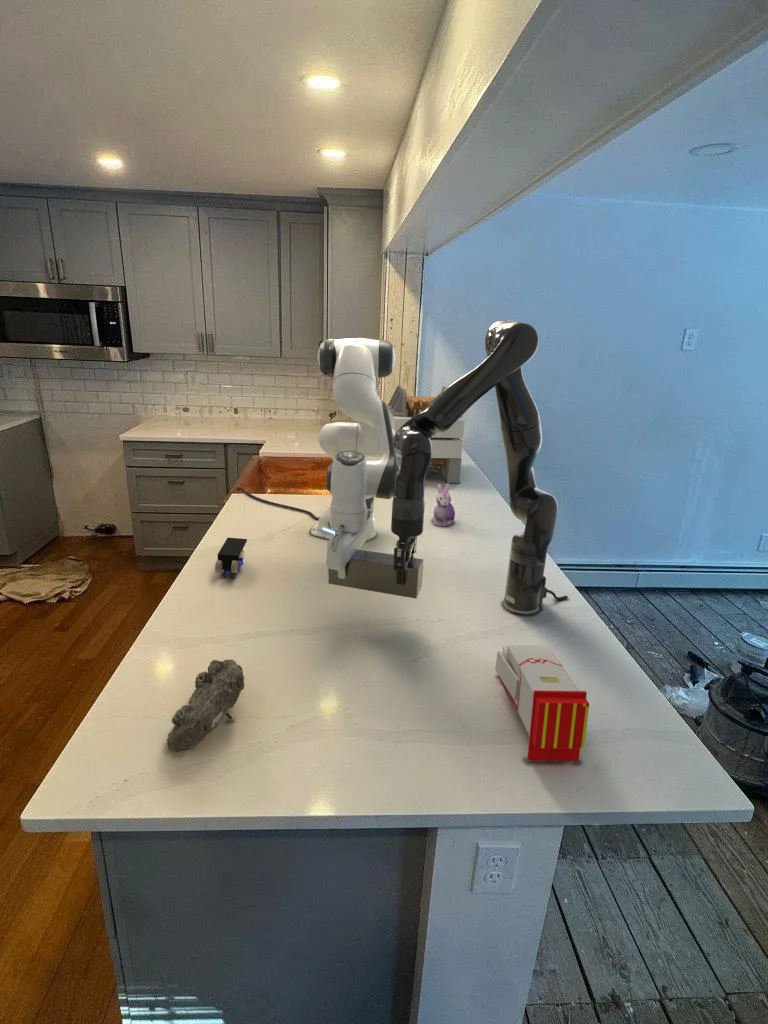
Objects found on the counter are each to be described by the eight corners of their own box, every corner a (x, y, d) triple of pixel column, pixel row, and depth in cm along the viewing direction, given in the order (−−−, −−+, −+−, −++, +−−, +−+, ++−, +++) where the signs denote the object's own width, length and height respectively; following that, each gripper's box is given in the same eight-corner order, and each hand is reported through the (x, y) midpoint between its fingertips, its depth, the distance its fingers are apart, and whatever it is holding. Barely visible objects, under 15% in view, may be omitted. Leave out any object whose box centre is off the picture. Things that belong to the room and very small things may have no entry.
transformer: (382, 463, 289) (386, 382, 275) (445, 464, 293) (451, 384, 279) (390, 482, 257) (394, 392, 243) (460, 483, 261) (468, 394, 247)
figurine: (440, 528, 206) (443, 489, 201) (425, 519, 214) (428, 481, 209) (461, 525, 210) (465, 486, 205) (446, 516, 219) (449, 478, 214)
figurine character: (238, 584, 162) (249, 557, 175) (236, 562, 158) (247, 536, 172) (215, 584, 161) (227, 556, 175) (212, 561, 158) (225, 535, 171)
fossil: (192, 660, 117) (244, 628, 112) (224, 691, 120) (276, 661, 115) (142, 746, 98) (202, 712, 93) (182, 779, 101) (242, 748, 96)
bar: (328, 583, 141) (328, 555, 138) (336, 573, 146) (336, 546, 143) (416, 598, 135) (418, 569, 133) (421, 587, 141) (423, 559, 138)
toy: (545, 627, 125) (599, 699, 96) (539, 683, 128) (590, 769, 99) (490, 626, 125) (528, 698, 96) (486, 682, 128) (522, 768, 98)
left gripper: (346, 536, 127) (345, 591, 131) (373, 508, 145) (371, 557, 150) (319, 532, 128) (319, 587, 133) (349, 504, 147) (348, 553, 151)
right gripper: (416, 526, 125) (412, 594, 130) (429, 505, 138) (425, 568, 143) (383, 521, 126) (381, 588, 132) (400, 502, 139) (396, 564, 145)
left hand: (347, 571), depth 141 cm, fingers closed on bar, 6 cm apart
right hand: (404, 577), depth 138 cm, fingers closed on bar, 6 cm apart
